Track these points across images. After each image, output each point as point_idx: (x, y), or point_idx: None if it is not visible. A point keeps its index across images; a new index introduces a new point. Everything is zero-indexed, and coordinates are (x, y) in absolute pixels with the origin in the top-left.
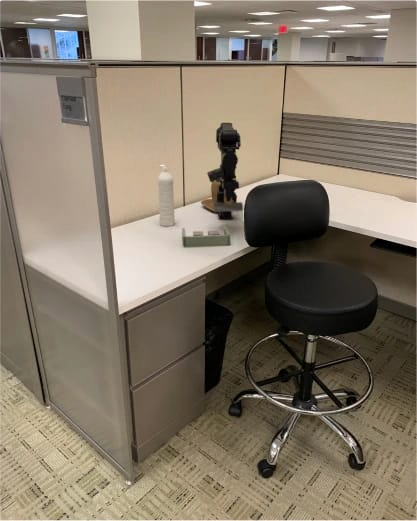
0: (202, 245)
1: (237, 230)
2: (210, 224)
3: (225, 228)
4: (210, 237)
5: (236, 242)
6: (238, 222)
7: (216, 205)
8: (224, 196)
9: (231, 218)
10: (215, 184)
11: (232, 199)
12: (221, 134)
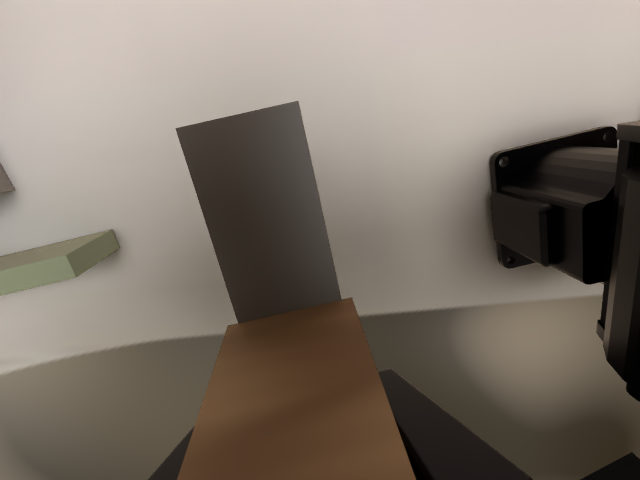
0: None
1: None
2: (369, 83)
3: (16, 274)
4: None
5: (5, 330)
6: (428, 306)
7: (194, 177)
8: (294, 404)
9: (501, 253)
10: None
11: (617, 364)
12: None
